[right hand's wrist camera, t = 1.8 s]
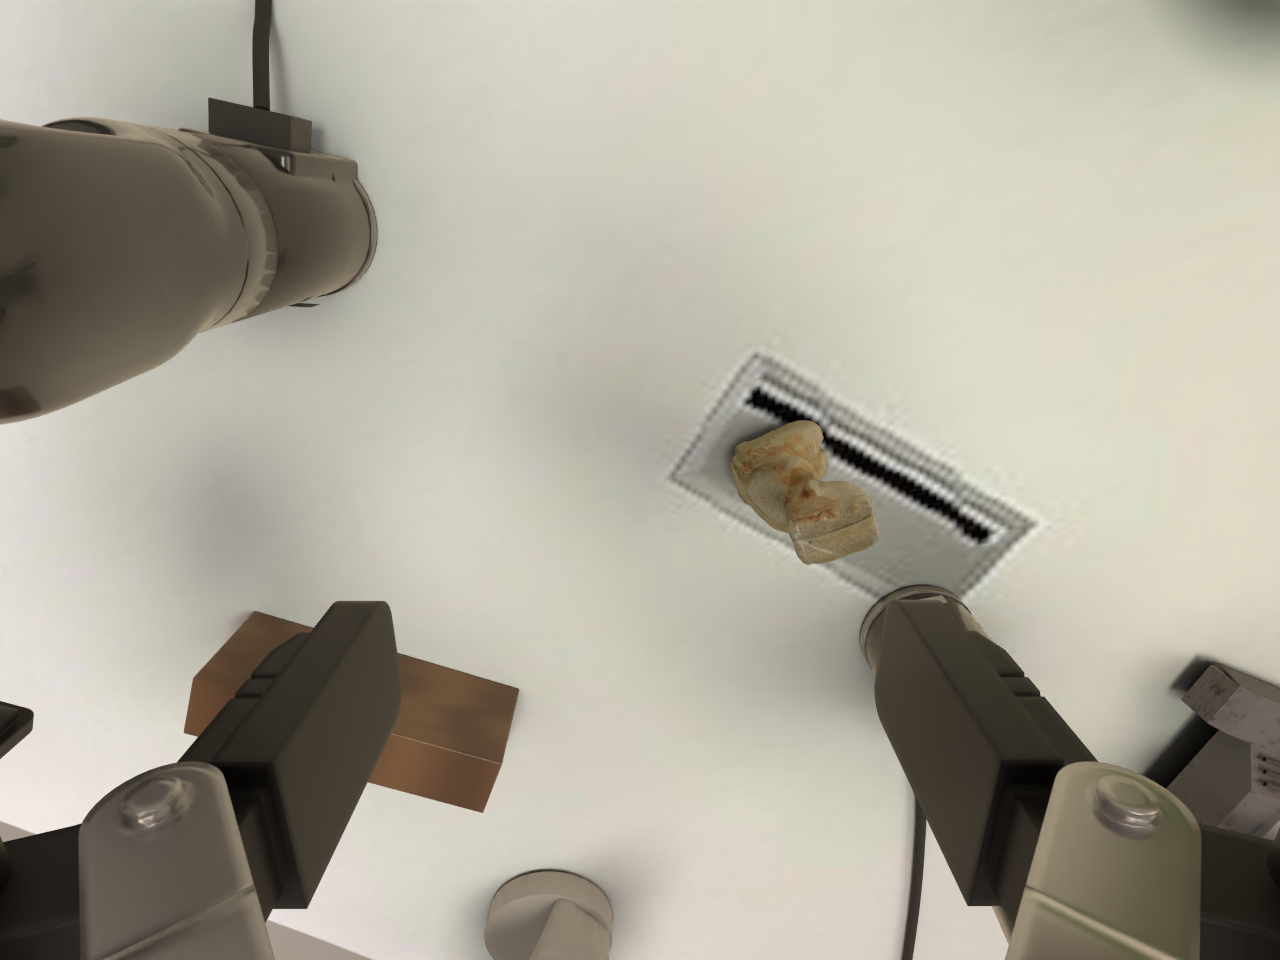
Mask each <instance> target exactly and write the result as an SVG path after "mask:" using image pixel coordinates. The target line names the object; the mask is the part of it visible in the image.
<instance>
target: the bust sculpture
mask: <svg viewBox="0 0 1280 960" xmlns="http://www.w3.org/2000/svg"><path fill="white" fill-rule="evenodd" d="M485 943H486V947H487V950H488V952H489V953H490V955H491V956H492V958H493V959H494V960H609V951H610V948H611V944H612V908H611V905H610V903H609V901H608V899H607V897H606V896H605V895H604V893H603V892H602V891H601V890H600V889H599V888H598V887H596V886H595V885H594V884H592V883H590V882H589V881H587V880H585V879H583V878H581V877H578V876H575V875H572V874H568V873H562V872H550V871H548V872H536V873H530V874H527V875H523V876H520V877H518V878H516V879H514V880H512V881H510V882H508V883H507V884H506V885H504V886H503V887H502V888H501V889H500V890H499V891H498V892H497V893H496V895H495V896H494V898H493V900H492V902H491V905H490V910H489V914H488V919H487V924H486V929H485Z"/></svg>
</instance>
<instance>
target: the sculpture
mask: <svg viewBox="0 0 1280 960" xmlns="http://www.w3.org/2000/svg"><path fill="white" fill-rule="evenodd" d="M822 440H823V435H822V431H821V428H820V427H819V426H818V425H817V424H816V423H814V422H812V421H807V420H800V421H795V422H791V423H788V424H786V425H783V426H781V427H779V428H777V429H775V430H773V431H770V432H768V433H766V434H765V435H763V436H761V437H759V438H757V439H754V440H752V441H744V442H741V443H740V444H738V445H737V446H736V448H735V456H734V457H733V458H732V460H731V469H732V474H733V478H734V481H735V484H736V488H737V491H738V494H739V496H740V498H742V500H743V501H744V502H745V503H746V504H748V505H750V506H751V507H752V508H753V510H754V511H755V512H756V513H757V514H758V515H759V516H760V517H761V518H762V519H763V520H764V521H766V522H767V523H768V524H769V525H770V526H771V527H773V528H774V529H777V530H780V531H783V532H786V533H789V535H790V538H791V539H792V541H793V544H794V547H795V550H796V554H797V556H798V557H799V559H800V560H801V561H802V562H803V563H804V564H807V565H810V564H819V563H825V562H829V561H833V560H836V559H839V558H841V557H844V556H846V555H849V554H852V553H855V552H858V551H861V550H864V549H866V548H868V547H870V546H872V545H873V544H874V543H876V542H877V540H878V537H879V528H878V525H877V523H876V521H875V518H874V515H873V509H872V503H871V501H870V498H869V497H868V496H867V495H866V493H865V492H864V491H863V490H862V489H860V488H858V487H856V486H855V485H853V484H851V483H849V482H844V481H831V482H824V481H819V480H820V479H821V478H822V477H823V476H824V475H825V473H826V471H827V466H828V461H827V455H826V453H825V451H824V450H823V449H822V448H820V445H821V442H822Z"/></svg>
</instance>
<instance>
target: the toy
mask: <svg viewBox="0 0 1280 960" xmlns="http://www.w3.org/2000/svg"><path fill="white" fill-rule="evenodd" d="M1181 700H1182V701H1184V702H1185V703H1186V704H1187V705H1188V706H1189V707H1190V708H1191V709H1192V710H1193V711H1194V712H1196V713H1197V714H1198V715H1199V716H1200V717H1201V718H1202V719H1203V720H1204V721H1205V722H1206V723H1208V724H1210V725H1211V726H1213V727H1215V728H1217V729H1219V730H1218V731H1217V733H1216V734H1215V735H1214V736H1213V737H1212V738H1211V739H1210V740H1209V741H1208V743H1207V744H1206V745H1205V746H1204V747H1203V748H1202V749H1201V750H1200V751H1199V753H1198V754H1197V755H1196V756H1195V757H1194V758H1193V759H1192V760H1191V761H1190V763H1189V764H1188V765H1187V766H1186V767H1185V768H1184V769H1183V770H1182V771H1181V773H1180V774H1179V775H1178V776H1177V777H1176V778H1175V779H1174V780H1173V781H1172V783H1171V784H1170V785H1169V786H1168V787H1167V788H1166V789H1167V790H1168V791H1169V792H1171V793H1172V794H1173V795H1175V796H1176V797H1177V798H1178V799H1179V800H1180V801H1181V802H1182V803H1183V804H1184V805H1185V806H1186V807H1187V808H1188V809H1189V810H1190V812H1191V813H1192V814H1193V816H1194V817H1195V819H1196V820H1197V822H1198V823H1201V824H1205V825H1210V826H1214V827H1218V828H1223V829H1227V830H1231V831H1236V832H1240V833H1244V834H1248V835H1253V836H1257V837H1261V838H1266V839H1270V840H1274V839H1275V837H1276V835H1277V832H1278V830H1279V828H1280V688H1278V687H1276V686H1273V685H1271V684H1268V683H1266V682H1263V681H1261V680H1258V679H1256V678H1253V677H1251V676H1248V675H1246V674H1243V673H1241V672H1238V671H1236V670H1233V669H1231V668H1228V667H1226V666H1223V665H1221V664H1218V663H1216V662H1215V663H1214V664H1213V665H1212V664H1211V665H1210V666H1209V667H1208V669H1207V670H1206V671H1205V672H1204V673H1203V674H1202V675H1201V677H1200V678H1199V679H1198V680H1197V681H1196V682H1195V684H1194V685H1193V686H1192V687H1191V688H1190V689H1189V691H1188V692H1187V693H1186V694H1185V695H1184V696H1183V698H1182V699H1181Z"/></svg>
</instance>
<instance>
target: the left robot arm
mask: <svg viewBox="0 0 1280 960" xmlns="http://www.w3.org/2000/svg"><path fill="white" fill-rule="evenodd" d="M270 25H271V0H255V20H254V27H253V106H254V108H253V107H249V106H244V105H240V104H235V103H231V102H226V101H222V100H217V99H213V98H208V108H209V132H207V131H200V130H194V129H188V128H179V129H178V130H171V129H165V128H159V127H152V126H146V125H139V124H134V123H128V122H121V121H115V120H109V119H102V118H92V117H77V118H68V119H61V120H58V121H54V122H50V123H48V124H45V125H43V126H34V125H28V124H22V123H17V122H12V121H6V120H2V119H0V425H1V424H8V423H14V422H20V421H24V420H28V419H32V418H35V417H39V416H42V415H45V414H48V413H51V412H54V411H57V410H60V409H62V408H65V407H67V406H70V405H72V404H75V403H77V402H79V401H82V400H84V399H86V398H88V397H91V396H93V395H95V394H97V393H100V392H102V391H104V390H106V389H109V388H111V387H113V386H115V385H118V384H120V383H122V382H125V381H127V380H129V379H131V378H134V377H136V376H138V375H140V374H143V373H145V372H147V371H150V370H152V369H154V368H156V367H158V366H160V365H162V364H163V363H165V362H167V361H168V360H170V359H171V358H173V357H174V356H175V355H177V354H178V353H179V352H180V351H181V350H182V349H183V348H184V347H186V346H187V344H188V343H189V342H190V341H191V340H192V339H193V338H194V337H195V336H196V335H197V334H198V333H200V332H203V331H207V330H210V329H213V328H217V327H220V326H223V325H226V324H230V323H234V322H237V321H240V320H243V319H247V318H250V317H253V316H256V315H260V314H263V313H266V312H270V311H273V310H276V309H279V308H283V307H286V306H297V307H313V306H316V305H319V304H305V303H299V302H302V301H306V300H309V299H312V298H316V297H320V296H325V295H330V294H333V293H337V292H339V291H342V290H344V289H346V288H348V287H350V286H351V285H353V284H354V283H355V282H356V281H358V280H359V279H360V278H361V277H362V276H363V274H364V273H365V272H366V270H367V269H368V267H369V265H370V263H371V261H372V259H373V256H374V253H375V248H376V242H377V226H376V219H375V215H374V211H373V208H372V205H371V203H370V200H369V198H368V196H367V194H366V192H365V191H364V189H363V187H362V186H361V185H360V183H359V182H358V181H357V164H356V162H355V161H353V160H349V159H345V158H340V157H336V156H331V155H326V154H323V153H320V152H317V151H314V150H311V125H312V122H311V121H309V120H305V119H301V118H297V117H293V116H289V115H284V114H280V113H275V112H271V111H270V91H269V34H270ZM33 717H34V713H33V711H32V710H30V709H28V708H24V707H20V706H17V705H13V704H9V703H5V702H1V701H0V759H1V758H2V757H3V756H4V755H5V754H6V753H8V752H9V751H10V750H11V749H12V748H13V747H14V746H15V745H17V744H18V743H19V742H20V741H21V740H22V739H23V738H25V737H26V736H27V735H28V734H29V733H30V732H31V731H32V729H33Z"/></svg>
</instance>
